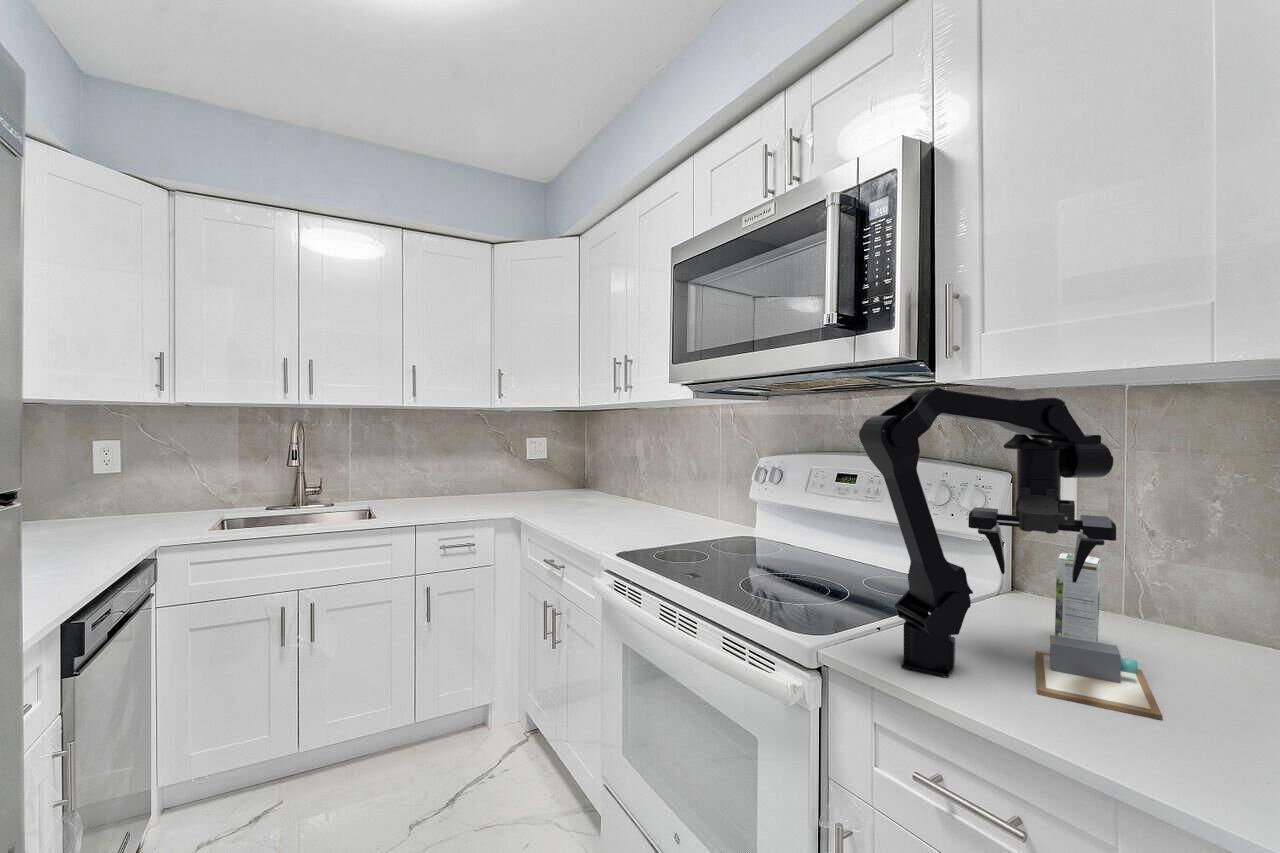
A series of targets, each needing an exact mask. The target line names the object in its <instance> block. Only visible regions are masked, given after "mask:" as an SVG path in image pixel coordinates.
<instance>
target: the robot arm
mask: <svg viewBox="0 0 1280 853" xmlns="http://www.w3.org/2000/svg"><path fill="white" fill-rule="evenodd" d="M938 416H945V417H952V418H960V419H965V420H966V419H967V420H972V421H979V422H987V423H988V422H989V423H992V424H995V425H999V426H1000V427H1002V428H1003V429H1005V430H1008V431H1011V432H1013V433H1015V434H1014V436H1012V438H1011V439H1009V440H1008V441H1007V442H1006V443H1004V444H1003V448H1004V449H1005V450H1016V502H1015V514H1005V513H999V508H992V507H991V508H989V507H980V506H979V507H972V509H971V510H970V511H969V513H968V528H969V529H976V530H977V533H978V535H984V536H985V537H986V538H987V541H988V542H989V544H990V546H991V548H992V550H993V553H994V555H995V558H996V562H997V564H998V568H999V569H1000V573H1001V574H1002V575H1005V572H1006V562H1005V553H1004V552H1005V551H1004V547H1003V539H1002V532H1001V527H1000V526H1005V527H1016V528H1018V529H1019V530H1021V531H1023V532H1028V533H1031V532H1041V533H1042V532H1043V533H1046V534H1050V535H1051V534H1057V533H1059V531H1063V532H1073V533H1074V532H1076V533H1077V536H1076V540H1075V541H1076V542H1075V549H1074V554H1075V555H1074V561H1073V568H1072V582H1073V583H1076V581H1077V579H1078V576H1079V574H1080V572H1081V569H1082V567H1083V565H1084V562H1085V560H1086V558H1087V557H1088V556H1090V553H1091V552H1092V551H1093V549H1094V548H1095V547H1096V546H1104V545H1105V541H1110V542H1111V541H1114V542H1115V541H1117V525H1116V523H1115V522H1114V521H1113V520H1112V519H1111V518H1110V517H1109V516H1102V515H1101V516H1100V515H1091V514H1090V515H1087V514H1080V515H1079V516H1080V518H1079V519H1076V517H1075V516H1076V514H1075V512H1076V511H1075V510H1076V507H1075V506H1076V505H1075V503H1076V502H1075V501H1074V500H1067V499H1061V493H1062V492H1061V490H1062V489H1061V488H1062V485H1061V484H1062V482H1061V480H1062V479H1061V478H1065V479H1075V478H1076V479H1078V478H1079V479H1083V478H1089V479H1090V478H1103V477H1105V476H1107V475H1108V474H1109V473H1110V472H1111V470H1112V468H1113V465H1114V456H1113V455H1112V452H1111V450H1110V449H1109V447H1108V446H1107V445H1106V444H1104V443H1103V442H1102V435H1100V434H1085V433H1084V432H1083V431H1082V429H1081V427H1079V425H1078V423H1077V422H1076V421H1075V419H1074V417H1073V416H1072V415H1071V413H1070V412H1069V410H1068V406H1066V402H1065V401H1064V400H1062V399H1061V398H1058V397H1040V398H1020V399H1018V398H1017V399H1010V398H1009V399H1008V398H1003V397H995V396H988V395H981V394H975V393H968V392H962V391H961V392H960V391H955V390H954V391H953V390H947V389H944V388H942V387H939V386H934V387H933V386H932V387H923V388H918V389H916V390H915V391H913V392H912V393H910V394H909V395H908V396H907V397H906V398H905V399H903V400H901V401H900V402H897V403H896V404H894V405H893V406H891V407H889V408H888V409H885V410H884V411H883V412H882V413H880V414H879V415H877V416H876V415H875V416H871V417H869V418H868V419H866V420H865V421H864V422H863V424H862V425H861V428H860V429H859V433H858V436H859V440H860V444H861V445H862V446H863V449H864V451H865V453H866V455H867V457H868V459H869V460H870V461H871V462H872V464H873V465H874V466H875V468H877V470H878V471H879V473H881V475H882V477H883V479H884V482H885V484H886V489H887V491H888V495H889V498H890V501H891V503H892V507H893V510H894V513H895V516H896V519H897V522H898V526H899V529H900V531H901V534H902V538H903V541H904V544H905V548H906V551H907V553H908V556H909V559H910V564H909V569H908V574H907V581H908V588H909V589H908V590H907V591H906V592H905V593H903V595H902V596H901V597H900V599H898V600H897V601H896V603H895V604H894V608H895V611H896V615H897V616H898V617H899V618H900V619H903V620H904V623H903V659H902V661H901V663H900V667H901V668H903V669H908V670H913V671H916V672H922V673H926V674H932V675H934V676H935V675H936V676H941V677H945V678H947V677H950V675H951V671H953V670H954V669H955V667H956V637H955V635H959V634H960V631H961V629H962V626H963V622H964V619H965V617H966V614H967V612H968V610H969V609H970V608H971V605H972V602H971V596H970V595H972V594H973V593H974V591H973V590H972V589H971V587H970V584H968V578H967V573H966V571H965V568H964V567H963V566H960V565H957V564H954V563H952V562H950V561H948V560H947V559H946V557H945V555H944V552H943V549H942V545H941V542H940V540H939V536H938V533H937V530H936V526H935V523H934V520H933V517H932V514H931V510H930V508H929V504H928V502H927V499H926V496H925V492H924V490H923V487H922V486H923V485H922V483H921V480H920V476H919V473H918V462H919V460H920V459H919V458H920V452H921V448H920V441H919V438H921V436H922V435H924V434H925V433H926V432H927V431H929V430H930V429H931V427H932V425H933V424H934V422H935V421H936V419H937V417H938ZM929 613H930V614H929Z"/></svg>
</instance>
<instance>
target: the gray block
mask: <svg viewBox="0 0 1280 853" xmlns="http://www.w3.org/2000/svg"><path fill="white" fill-rule="evenodd" d="M1049 654H1050V668H1051V671H1057V672H1062V673H1067V674H1072V675H1078V676H1083V677H1088V678H1094V679H1099V680H1104V681H1110V682H1115V683H1120V684H1121V671H1122V672H1127V673H1133V674H1138V669H1139V666H1138V660H1134V659H1128V658H1122V655H1121V652H1120V650H1119V648H1118V646H1117V645H1113V644H1108V643H1107V644H1106V643H1102V642H1098V643H1096V642H1090V641H1084V640H1078V639H1072V638H1065V637H1059V636H1055V635H1052V634H1050V635H1049Z"/></svg>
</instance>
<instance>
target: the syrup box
mask: <svg viewBox="0 0 1280 853" xmlns="http://www.w3.org/2000/svg"><path fill="white" fill-rule="evenodd" d="M1074 555H1075V553H1068V552H1067V553H1065V552H1064V553H1060V554H1059V556H1058V558H1057V560H1056V582H1055V583H1056V584H1055V585H1056V586H1055V613H1054V614H1055V618H1054V620H1055V623H1054V636H1059V637H1065V638H1072V639H1078V640H1084V641H1090V642H1096V643H1099V633H1100V632H1099V631H1100V630H1099V629H1100V628H1099V625H1100V596H1101V595H1100V593H1101V592H1100V588H1101V585H1100V584H1101V581H1100V580H1101V558H1099V557H1094V556H1090V555H1088V557H1087V558H1086V560H1085V562H1084V565H1083V567H1082V569H1081V572H1080V574H1079V576H1078V579H1077V581H1076V583H1073V582H1072V568H1073V561H1074Z"/></svg>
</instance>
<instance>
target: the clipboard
mask: <svg viewBox="0 0 1280 853" xmlns="http://www.w3.org/2000/svg"><path fill="white" fill-rule="evenodd" d="M1035 672H1036V688H1037V689H1036V691H1037V695H1041V696H1046V697H1050V698H1053V699H1054V698H1055V699H1060V700H1064V701H1070V702H1073V703H1078V704H1083V705H1088V706H1093V707H1097V708H1102V709H1108V710H1113V711H1115V712H1116V711H1117V712H1123V713H1127V714H1131V715H1135V714H1136V716H1141V717H1146V718H1152V719H1156V720H1159V721H1160V720H1161V721H1164V720H1163V717H1164V716H1163V713H1162V711H1161V708H1160V707H1159V704H1158V702H1157V701H1156V698H1155V696H1154V694H1153V692H1152V689H1151V688H1150V686H1149V683H1148V681H1147V679H1146V676H1145V675H1144V673H1143V670H1142V669H1139V668H1138V674H1133V673H1127V672H1122V671H1121V684H1120V683H1115V682H1110V681H1104V680H1099V679H1094V678H1088V677H1083V676H1078V675H1072V674H1067V673H1062V672H1057V671H1051V668H1050V652H1049V653H1048V652H1043V651H1037V650H1035Z"/></svg>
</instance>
